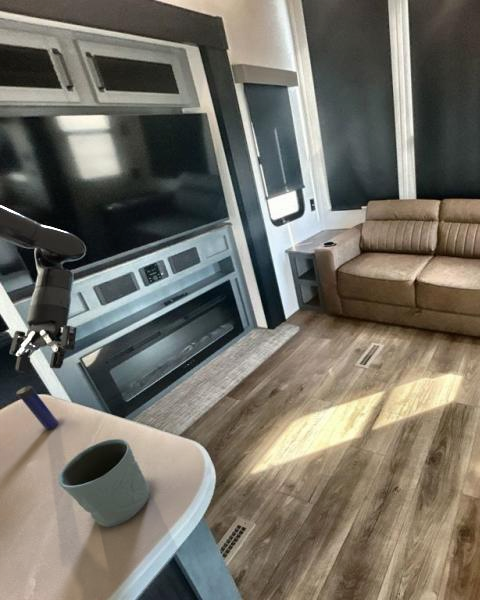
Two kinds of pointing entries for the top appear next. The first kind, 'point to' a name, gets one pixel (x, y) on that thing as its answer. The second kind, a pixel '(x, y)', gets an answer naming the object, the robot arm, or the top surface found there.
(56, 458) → the top surface
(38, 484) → the top surface
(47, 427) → the marker
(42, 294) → the robot arm
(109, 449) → the grey-green cup
